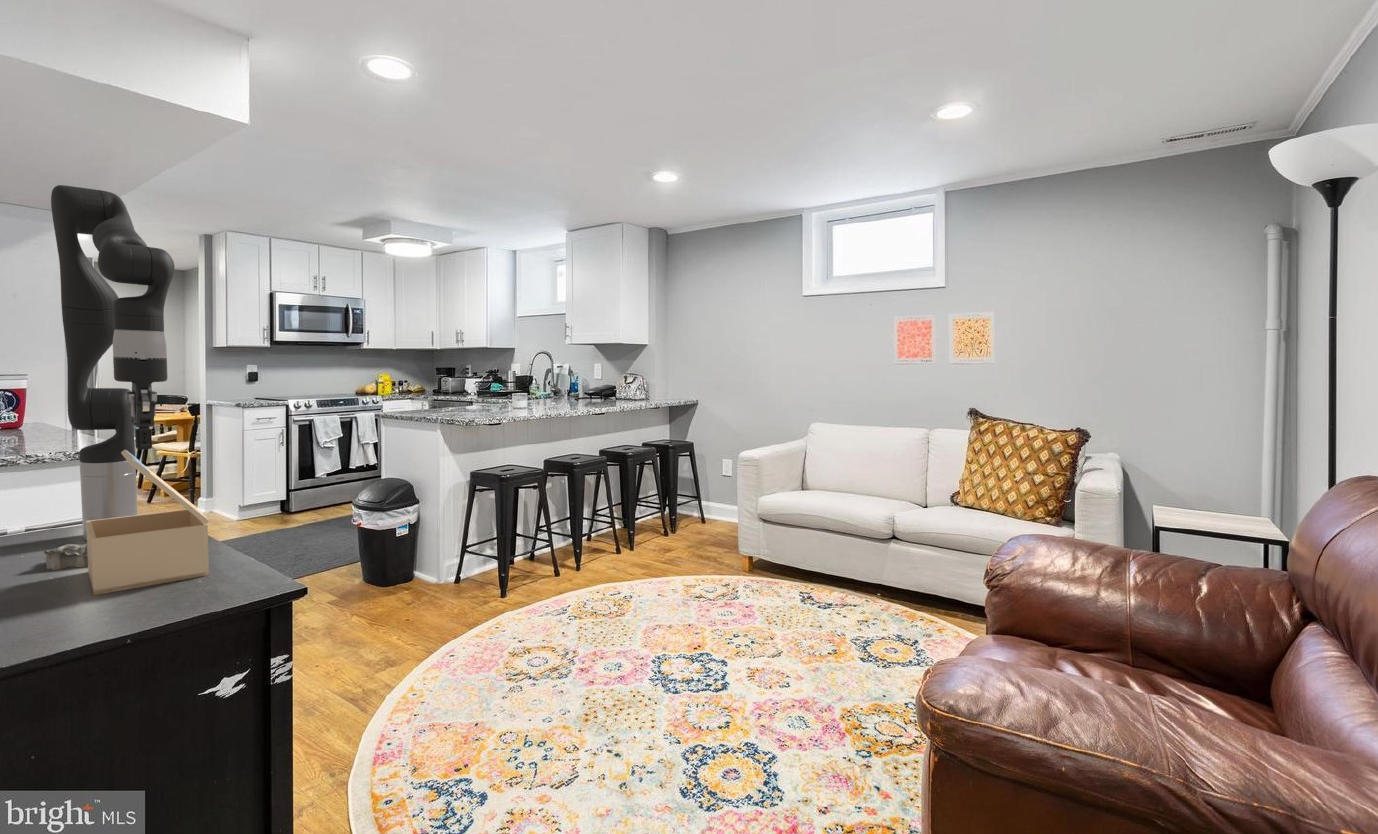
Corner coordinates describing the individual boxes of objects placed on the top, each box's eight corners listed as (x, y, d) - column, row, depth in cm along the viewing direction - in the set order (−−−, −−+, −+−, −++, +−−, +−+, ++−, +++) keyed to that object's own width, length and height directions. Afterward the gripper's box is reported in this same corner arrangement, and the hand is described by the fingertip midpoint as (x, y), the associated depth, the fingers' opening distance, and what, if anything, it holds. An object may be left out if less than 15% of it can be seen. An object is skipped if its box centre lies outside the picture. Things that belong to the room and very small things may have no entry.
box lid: (120, 452, 123) (125, 449, 123) (190, 508, 131) (194, 505, 132) (129, 464, 111) (134, 460, 112) (205, 524, 120) (210, 520, 120)
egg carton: (40, 572, 120) (39, 551, 120) (56, 561, 127) (55, 541, 127) (114, 565, 125) (113, 545, 125) (126, 554, 132) (125, 535, 132)
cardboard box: (88, 571, 121) (86, 520, 120) (194, 555, 132) (192, 509, 131) (93, 595, 110) (91, 539, 109) (209, 575, 121) (207, 524, 120)
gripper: (110, 354, 119) (113, 446, 121) (116, 355, 110) (120, 455, 112) (161, 355, 125) (164, 443, 126) (171, 356, 116) (175, 451, 117)
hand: (143, 448), depth 119 cm, fingers closed
